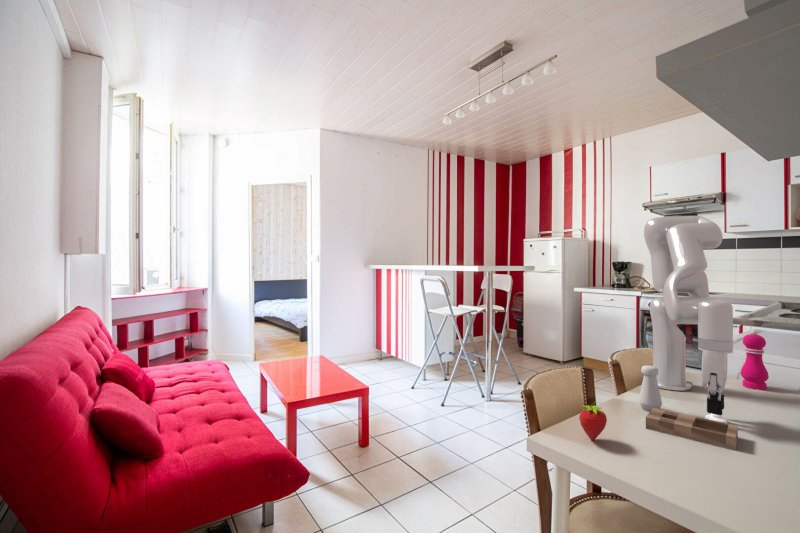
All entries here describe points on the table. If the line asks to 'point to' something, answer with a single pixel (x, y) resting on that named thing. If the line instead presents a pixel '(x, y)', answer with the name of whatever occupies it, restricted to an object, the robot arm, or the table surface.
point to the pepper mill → (754, 362)
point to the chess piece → (716, 417)
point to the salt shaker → (650, 389)
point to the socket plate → (693, 428)
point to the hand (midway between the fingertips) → (715, 410)
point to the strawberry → (592, 421)
